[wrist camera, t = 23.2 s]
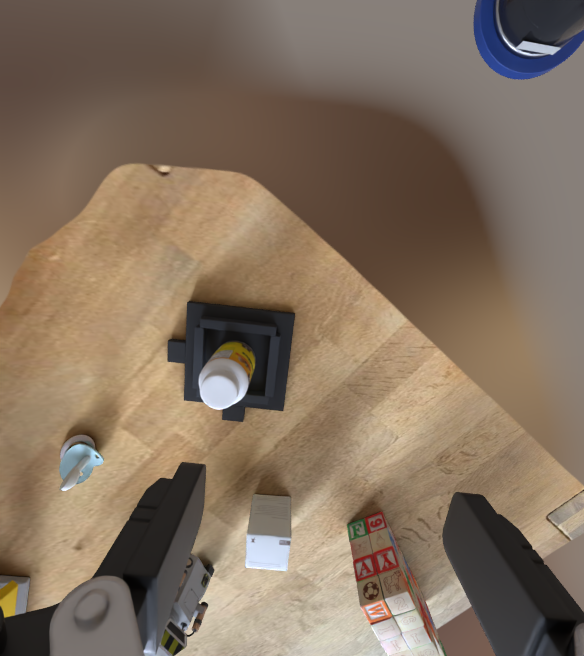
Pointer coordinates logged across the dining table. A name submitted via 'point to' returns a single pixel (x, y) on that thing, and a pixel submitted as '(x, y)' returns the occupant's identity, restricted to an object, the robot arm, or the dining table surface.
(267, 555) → the product carton
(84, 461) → the pacifier
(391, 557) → the stack of blocks
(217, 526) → the dining table surface
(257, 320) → the black tray
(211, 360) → the supplement bottle
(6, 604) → the yellow framed monitor
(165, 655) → the figurine
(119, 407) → the dining table surface
